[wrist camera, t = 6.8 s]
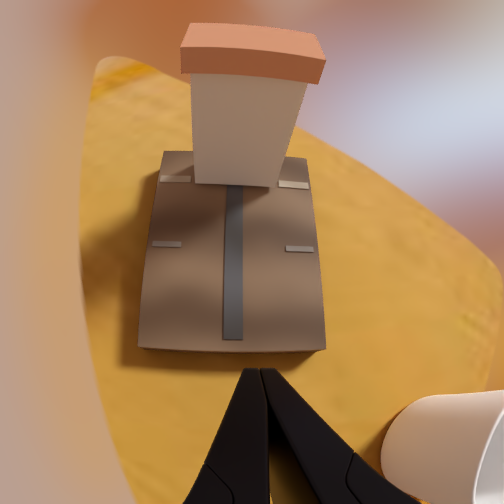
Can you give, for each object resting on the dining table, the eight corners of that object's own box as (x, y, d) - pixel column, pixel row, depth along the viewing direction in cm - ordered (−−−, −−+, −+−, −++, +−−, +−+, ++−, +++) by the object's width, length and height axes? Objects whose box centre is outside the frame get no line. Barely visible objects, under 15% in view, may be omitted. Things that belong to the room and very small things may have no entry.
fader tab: (280, 192, 22) (326, 60, 12) (189, 187, 21) (180, 47, 11) (277, 160, 23) (314, 34, 13) (193, 155, 23) (190, 23, 12)
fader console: (316, 351, 20) (326, 348, 18) (144, 349, 19) (137, 346, 17) (300, 172, 26) (306, 157, 24) (166, 165, 25) (163, 150, 23)
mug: (397, 528, 14) (474, 568, 4) (363, 429, 18) (463, 451, 8) (465, 473, 16) (547, 483, 6) (440, 377, 20) (538, 359, 10)
